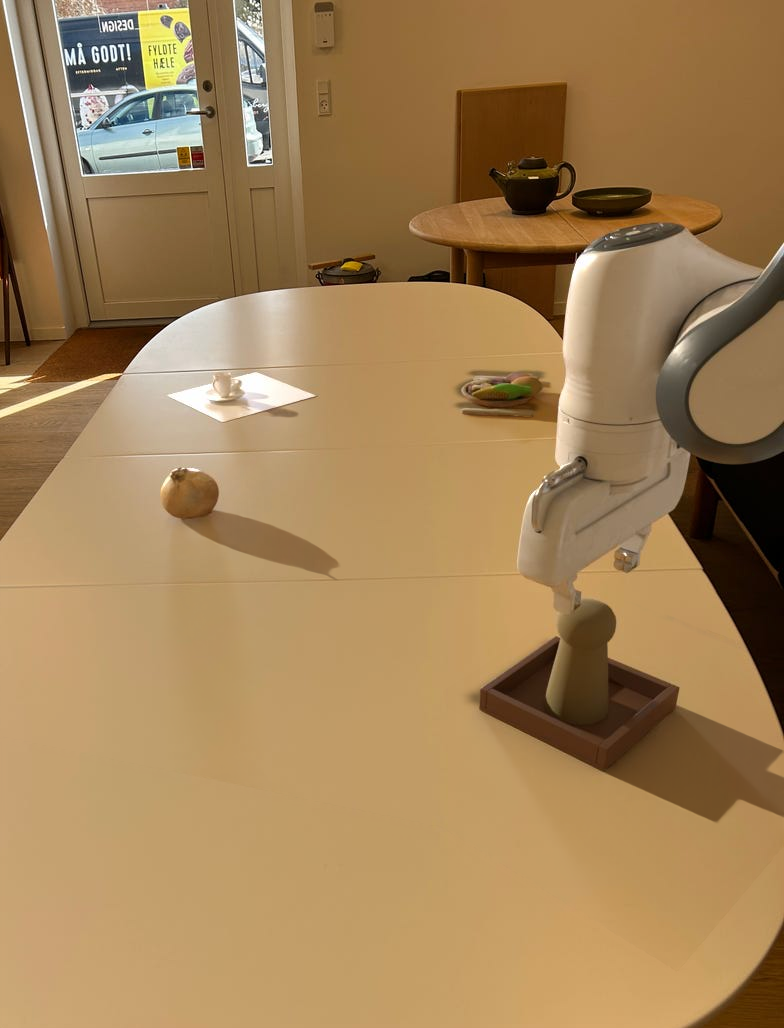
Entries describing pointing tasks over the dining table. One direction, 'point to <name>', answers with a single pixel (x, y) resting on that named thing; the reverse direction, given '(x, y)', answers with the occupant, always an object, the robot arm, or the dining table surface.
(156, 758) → the dining table surface
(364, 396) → the dining table surface
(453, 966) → the dining table surface
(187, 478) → the onion
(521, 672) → the tray
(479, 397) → the toy food set
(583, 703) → the chess pawn figurine
